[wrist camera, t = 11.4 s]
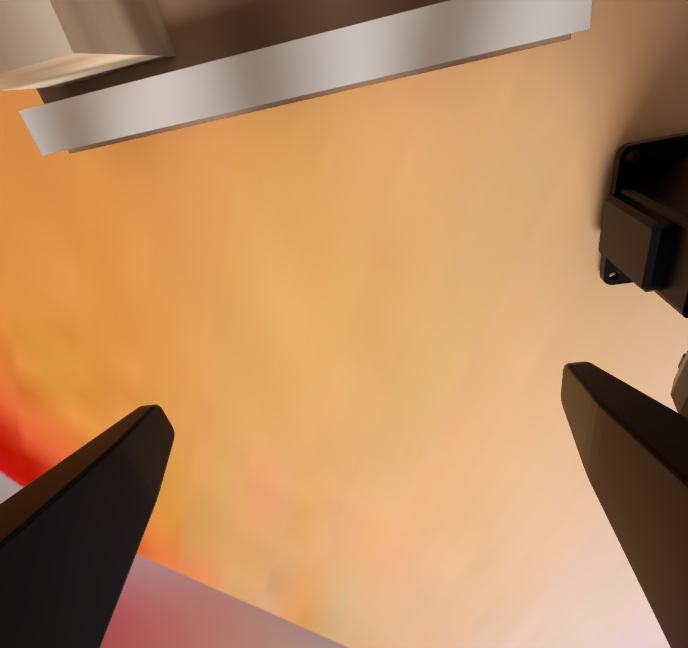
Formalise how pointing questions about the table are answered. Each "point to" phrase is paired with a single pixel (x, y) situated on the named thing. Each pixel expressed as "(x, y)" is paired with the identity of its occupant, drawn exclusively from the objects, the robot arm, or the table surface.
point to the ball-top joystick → (77, 40)
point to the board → (286, 59)
